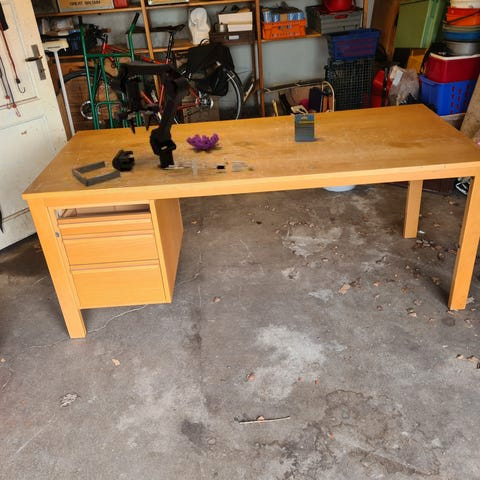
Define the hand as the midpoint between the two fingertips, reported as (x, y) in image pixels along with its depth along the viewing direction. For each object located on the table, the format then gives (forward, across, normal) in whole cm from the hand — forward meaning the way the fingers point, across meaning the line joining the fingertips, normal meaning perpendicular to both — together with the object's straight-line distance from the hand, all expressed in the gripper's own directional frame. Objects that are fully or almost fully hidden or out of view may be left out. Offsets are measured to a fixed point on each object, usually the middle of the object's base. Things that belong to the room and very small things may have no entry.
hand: (140, 132), depth 193 cm
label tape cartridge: (+13, -66, +29) cm, 73 cm away
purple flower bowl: (+13, -27, +4) cm, 30 cm away
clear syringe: (+14, -15, +27) cm, 34 cm away
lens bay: (+13, +22, 0) cm, 26 cm away
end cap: (+13, +10, 0) cm, 17 cm away
